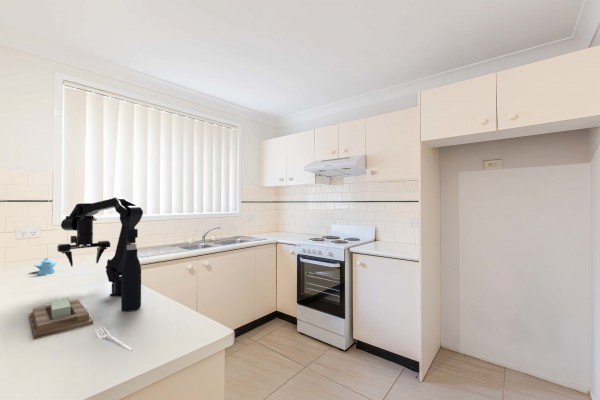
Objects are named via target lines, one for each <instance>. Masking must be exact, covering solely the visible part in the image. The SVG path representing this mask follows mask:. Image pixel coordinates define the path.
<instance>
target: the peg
mask: <svg viewBox="0 0 600 400" xmlns="http://www.w3.org/2000/svg"><path fill="white" fill-rule="evenodd" d="M69 301H70V300H69V298H68V297H65V298H59V299H53V300H50V305H51V319H56V318H61V317H65V316H69V315H71V306H70V303H69Z"/></svg>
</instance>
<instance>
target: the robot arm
mask: <svg viewBox="0 0 600 400" xmlns="http://www.w3.org/2000/svg"><path fill="white" fill-rule="evenodd" d="M110 209H114V210H115V212H116V213H117V214H118V215H119V221H120V223H121V228H120V231H119V237H118V240H117V245H116V247H115V248H116V250H115V252H114V256H113V257H112V258H108V259H107V261H106V266H105V268H104V269H105V273H106V275H107V279H108V282H109V283H111V292H110V293H109V296H116V297H117V296H118V297H119V296H121V273H122V267H123V263H124V260H125V258H126V250H127V245H129V244H128V238H126V229H136V228H135V227H136V226H137V225H138V224H139V222H140V221H141V219H142V218H143V214H144V210H143V209H142V207H141V206H139V205H136V204H135V203H133V202H132V201H129V200H127V199H126V198H124V197H116V196H115V197H112V198H109V199H104V200H100V201H97V202H91V203H89V202H87V203H86V202H84V203H76V204H75V206H74V207H73V209H72V211H71V212H70V214H69V215H65V218H64V219H63V220H62V221H61V223H60V227H61V229H63V230H64V231H76V235H70V240H69V241H70V243H59V244H57V249H56V250H57V252H58V253H61V254H65V255H66V257H67V258H66V259H68V262H69V264H70V267H73V265H74V264H73V254H72V253H73V252H72V250H75V249H87V248H96V258H95V263H96V264H98V263H99V262H100V260H101V257H102V254H103V253H104V252H105V250H108V248H111V242H110V241H108V240H98V241H97V242H93V241H94V221H97V220H98V219H97V218H96V217H94V215H97V214H98V213H99V212H103V211H105V210H110Z"/></svg>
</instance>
